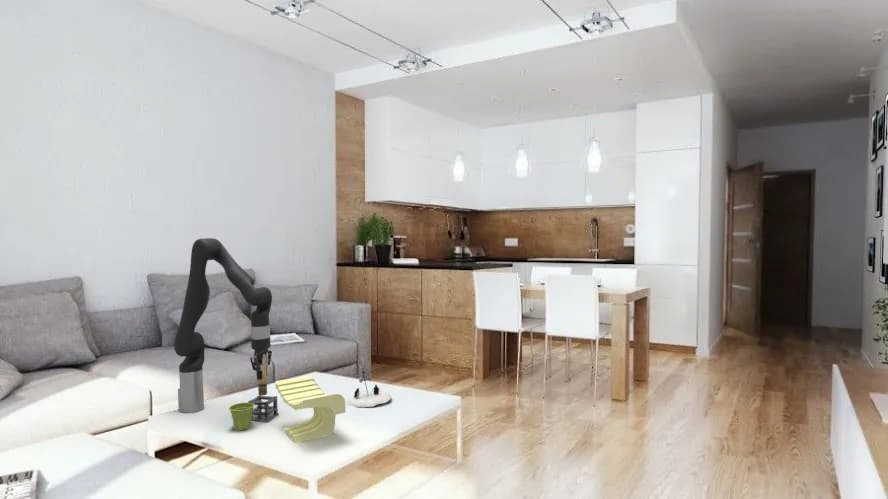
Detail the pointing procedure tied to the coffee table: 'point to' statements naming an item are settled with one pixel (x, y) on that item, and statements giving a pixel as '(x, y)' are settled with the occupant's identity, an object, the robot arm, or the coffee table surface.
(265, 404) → the metal frame cube
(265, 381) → the tube
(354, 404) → the figurine
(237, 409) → the plant pot
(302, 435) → the slatted curved stool
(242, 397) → the coffee table surface
